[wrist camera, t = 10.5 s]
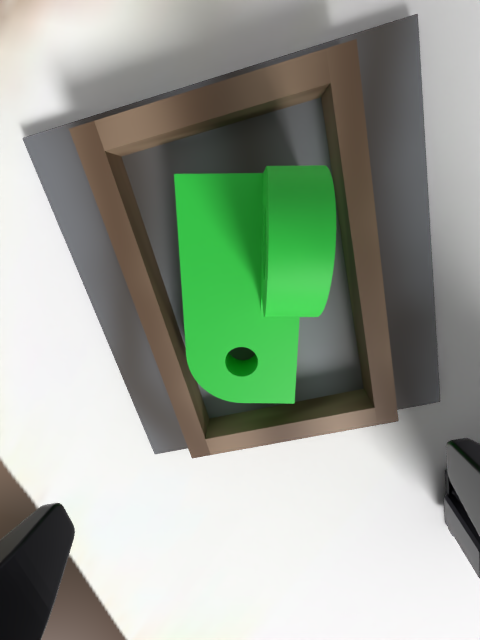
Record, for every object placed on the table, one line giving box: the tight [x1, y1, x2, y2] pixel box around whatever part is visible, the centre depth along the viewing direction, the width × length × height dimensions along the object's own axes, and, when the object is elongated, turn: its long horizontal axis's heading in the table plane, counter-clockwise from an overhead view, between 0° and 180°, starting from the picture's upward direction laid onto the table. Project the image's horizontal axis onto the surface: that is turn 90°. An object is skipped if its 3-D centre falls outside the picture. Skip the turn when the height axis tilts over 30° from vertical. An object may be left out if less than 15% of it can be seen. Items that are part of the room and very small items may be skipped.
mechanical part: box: [174, 165, 336, 404], centre depth 15 cm, size 12×6×8 cm, turn 0°
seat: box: [23, 14, 440, 458], centre depth 18 cm, size 19×20×3 cm
